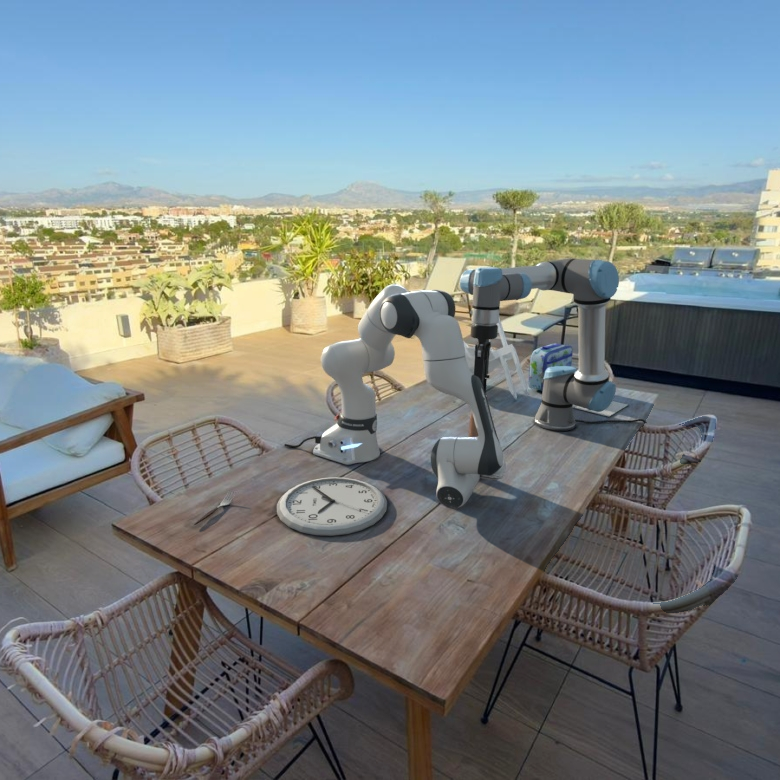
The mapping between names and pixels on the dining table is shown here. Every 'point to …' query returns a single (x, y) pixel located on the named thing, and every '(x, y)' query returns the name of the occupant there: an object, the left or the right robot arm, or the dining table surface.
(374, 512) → the wall clock
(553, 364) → the lunch box
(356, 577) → the dining table surface
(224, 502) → the fork
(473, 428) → the bottle
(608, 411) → the invitation card
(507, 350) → the white plastic object
